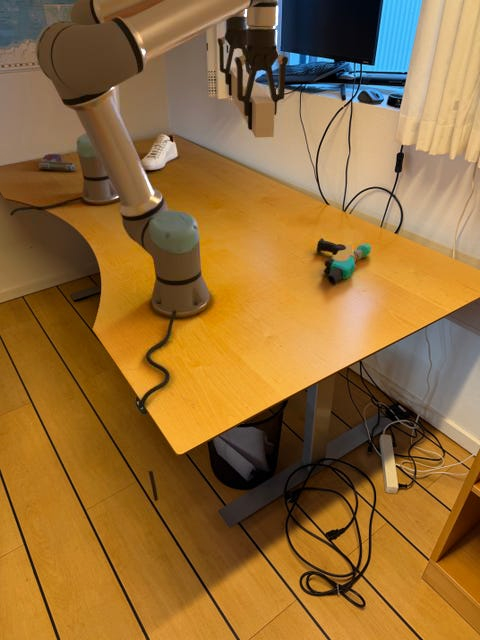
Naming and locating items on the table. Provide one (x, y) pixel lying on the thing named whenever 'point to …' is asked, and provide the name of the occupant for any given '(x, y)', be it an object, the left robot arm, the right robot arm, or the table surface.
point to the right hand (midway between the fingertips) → (259, 127)
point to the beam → (255, 106)
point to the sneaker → (160, 153)
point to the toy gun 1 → (55, 163)
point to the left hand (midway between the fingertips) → (238, 94)
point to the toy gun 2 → (341, 259)
